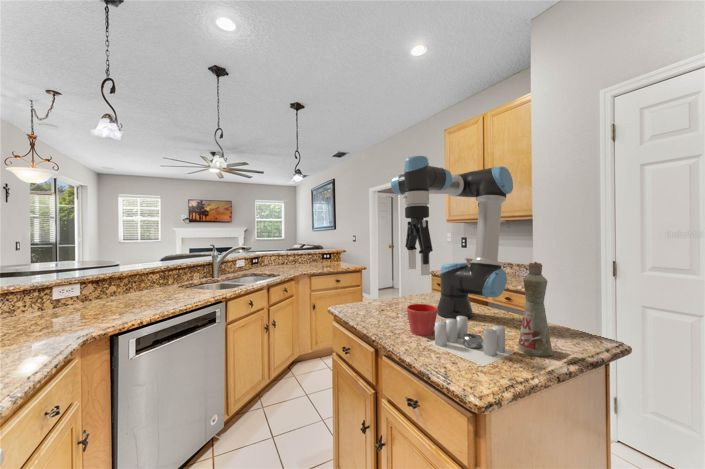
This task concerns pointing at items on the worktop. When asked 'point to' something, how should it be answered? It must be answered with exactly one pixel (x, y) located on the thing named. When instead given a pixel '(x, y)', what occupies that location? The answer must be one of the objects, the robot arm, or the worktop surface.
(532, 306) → the bottle
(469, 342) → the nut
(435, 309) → the flower pot
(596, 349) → the worktop surface
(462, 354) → the board
